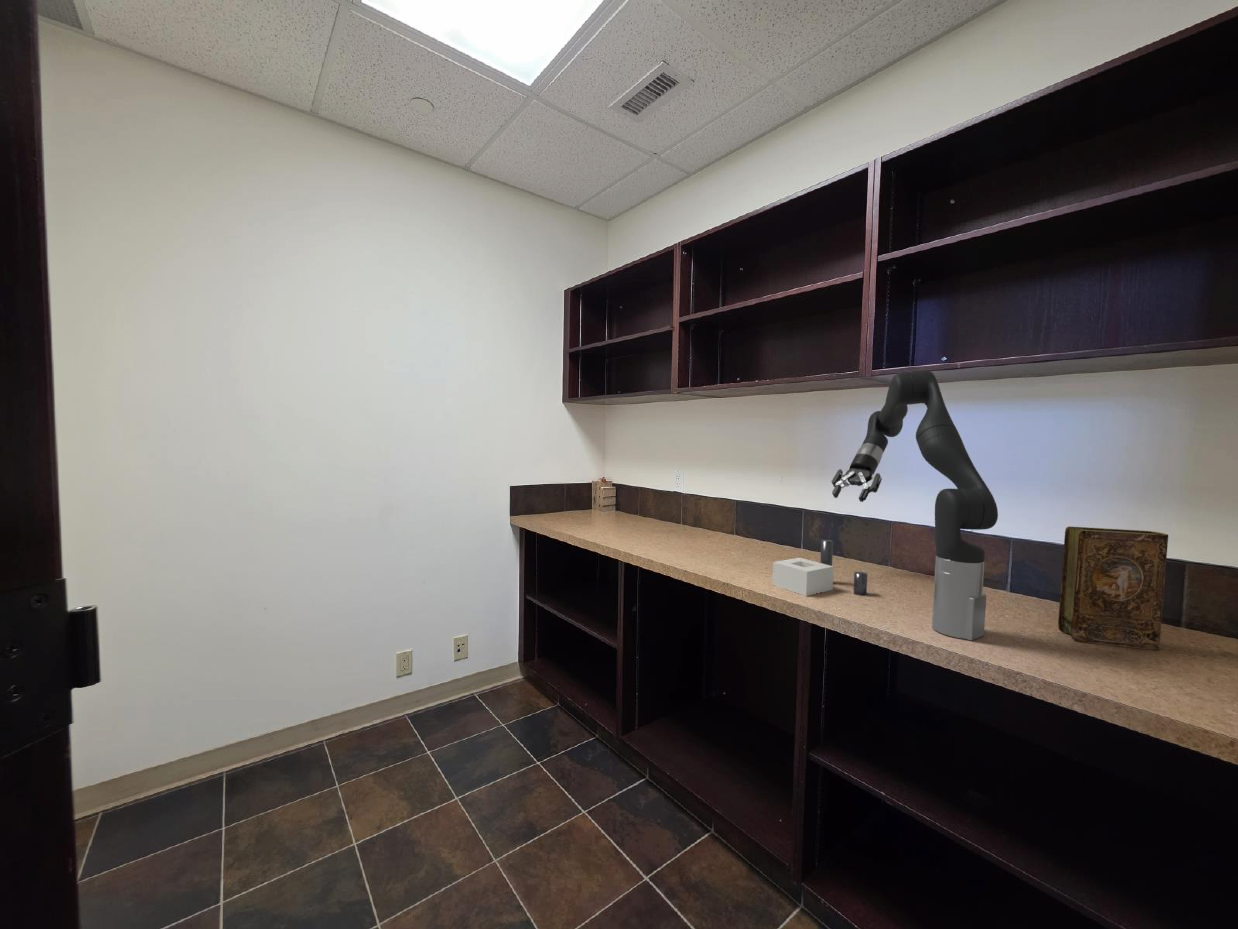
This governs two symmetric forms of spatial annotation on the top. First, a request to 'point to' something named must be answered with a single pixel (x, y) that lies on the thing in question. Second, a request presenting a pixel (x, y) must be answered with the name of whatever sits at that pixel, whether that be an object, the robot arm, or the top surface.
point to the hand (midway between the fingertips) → (847, 498)
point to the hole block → (803, 576)
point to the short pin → (860, 583)
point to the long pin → (826, 552)
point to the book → (1113, 586)
